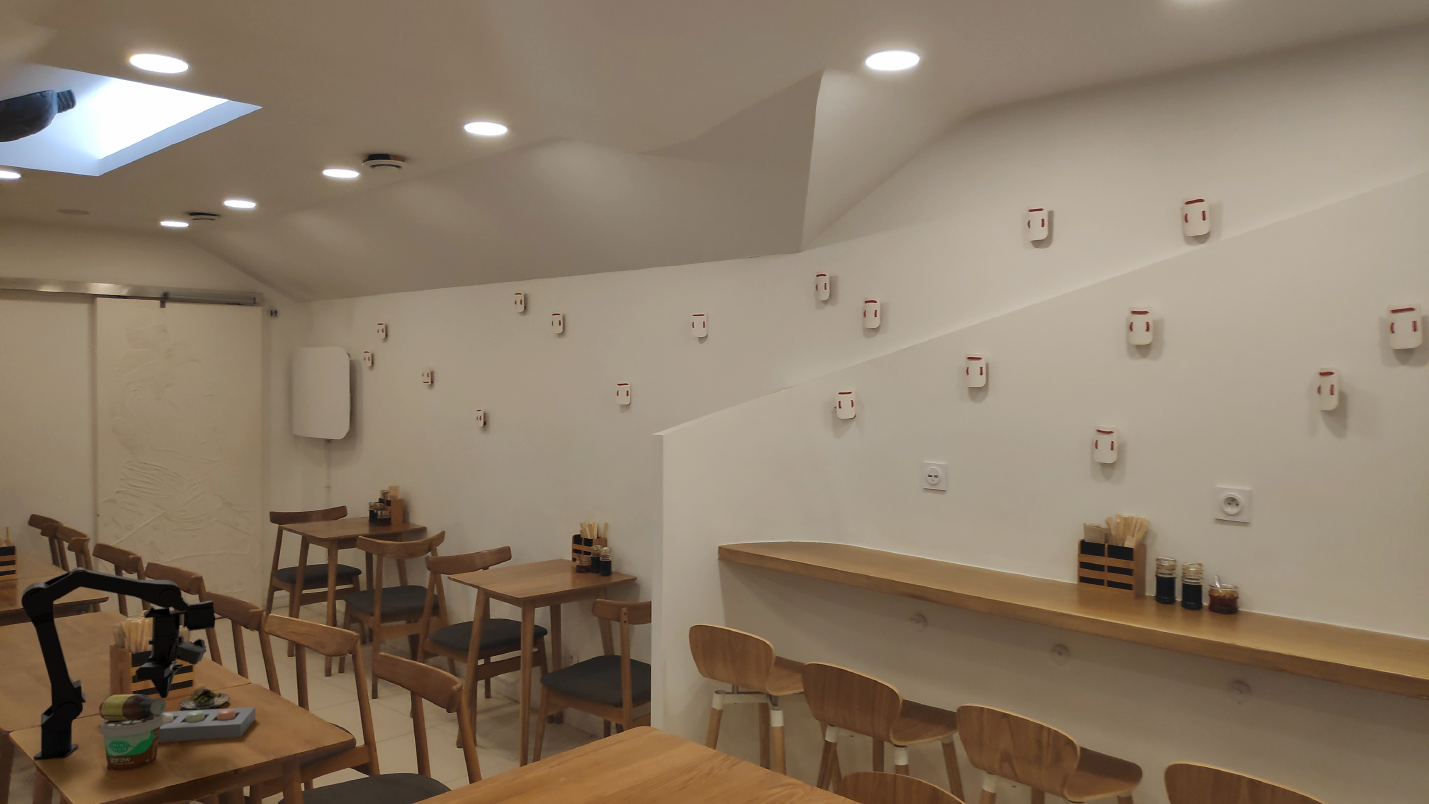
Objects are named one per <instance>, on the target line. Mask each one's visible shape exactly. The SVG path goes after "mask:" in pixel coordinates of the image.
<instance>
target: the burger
mask: <svg viewBox="0 0 1429 804" xmlns="http://www.w3.org/2000/svg"><path fill="white" fill-rule="evenodd" d="M193 681H194V683H196V682H195V680H193ZM207 686H208V684H206V683H200V684H197V685H195V686H194V687H193V688H192V690H191V693H190V697H187V698H185V699H183V700H181V701H179V708H178V711H191V710H210V709H215V708H217V707H220V706H222V705H223V704H225V703H226V702H228V700H229V699H231V697H230V696H229V695H227V694H225V693H222V692H220V693H219V692H218V693H215V692H214V691H212V690H211V689H208V688H207Z"/></svg>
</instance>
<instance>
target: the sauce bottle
mask: <svg viewBox="0 0 1429 804" xmlns="http://www.w3.org/2000/svg"><path fill="white" fill-rule="evenodd" d="M166 709H167V702H166V700H164V698H161V697H160V698H159V697H158V698H151V697H150V696H148V695H147V694H143V693H142V694H141V693H136V694H135V693H132V694H131V693H130V694H113V695H109V696H107V697H105V698H104V699H103V700H102V701H101V702H100V705H99V706H98V712H99V716H100V718H102V719H103V720H104V719H105V721H111V722H112V721H113V722H123V721H127V720H143V719H144V718H145V717H147V716H149V715H152V716H158V715H161V714H162V713H163V712H166Z"/></svg>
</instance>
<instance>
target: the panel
mask: <svg viewBox="0 0 1429 804" xmlns="http://www.w3.org/2000/svg"><path fill="white" fill-rule="evenodd" d="M225 709H226V708H210V709H207V710H191V711H179V710H178V711H177V710H176V711H164V712H163V713H162V714H167V713H170V714H173V722H172V723H164V724H163V725H161V726H160V731H159V739H158V743H168V742H183V741H184V742H185V741H186V742H188V741H200V740H201V741H202V740H216V739H217V740H218V739H219V740H220V739H233V738H234V739H235V738H241V737H242V736H243V735H244V734H245V732H246V731H247V730H248V729H249V727H250V726H251V725H252V724H253V723H254V722H255V721H256V706H251V707H249V706H247V707H231V708H227V709H234V710H235V719H234V720H217V712H219V711H221V710H225ZM193 711H204V712H205V719H204V720H203V721H199V722H186V714H187V713H189V712H193ZM154 717H155V716H152V715H149V716H147V717H145V718H144V719H142V720H153V719H154ZM254 720H255V721H254Z"/></svg>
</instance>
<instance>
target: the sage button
mask: <svg viewBox="0 0 1429 804" xmlns="http://www.w3.org/2000/svg"><path fill="white" fill-rule="evenodd" d="M204 719H205V712H204V711H193V712H189V713H187V714H186V722H199V721H203V720H204Z"/></svg>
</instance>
